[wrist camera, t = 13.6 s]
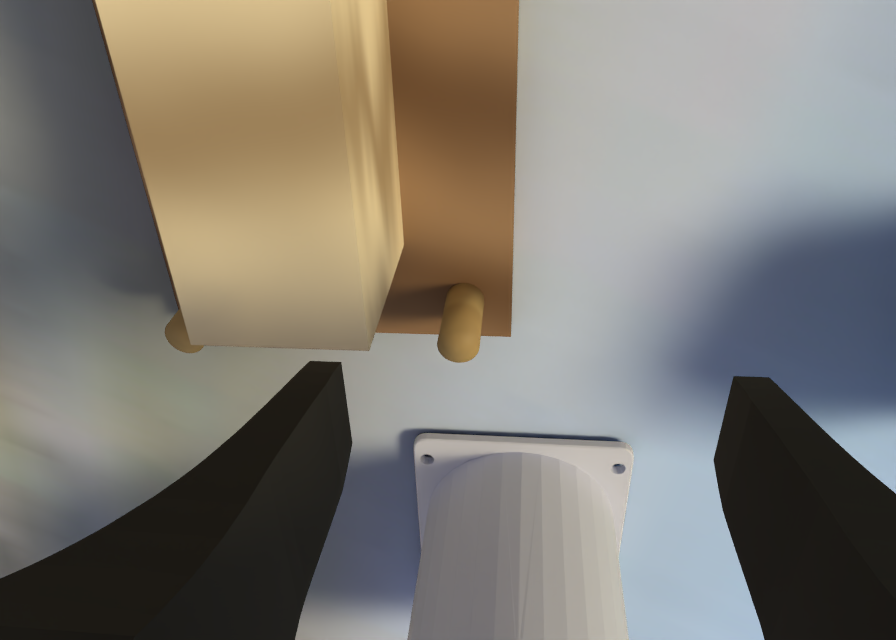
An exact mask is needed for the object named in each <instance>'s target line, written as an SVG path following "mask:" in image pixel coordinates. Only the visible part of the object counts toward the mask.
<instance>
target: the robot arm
mask: <svg viewBox="0 0 896 640" xmlns="http://www.w3.org/2000/svg"><path fill="white" fill-rule="evenodd" d="M351 447H352V437H351V430H350V423H349V415H348V408H347V401H346V394H345V386H344V379H343V372H342V365H341V362H321V361H310V362H309V363H307V364H306V365H305V366H304V367H303V368H302V369H301V370H300V371H299V372H298V373H297V374H296V375H295V376H294V377H293V378H292V379H291V380H290V381H289V382H288V383H287V384H286V385H285V386H284V387H283V388H282V389H281V390H280V391H279V392H278V393H277V394H276V395H275V396H274V397H273V398H272V399H271V400H270V401H269V402H268V403H267V404H266V405H265V406H264V407H263V408H262V409H261V410H260V411H258V412H257V413H256V414H255V415H254V416H253V417H252V418H251V419H250V420H249V421H248V422H247V423H246V424H245V425H244V426H243V427H242V428H241V429H239V430H238V431H237V432H236V433H235V434H234V435H233V436H232V437H230V438H229V439H228V440H227V441H226V442H225V443H223V444H222V445H221V446H220V447H219V448H218V449H216V450H215V451H214V452H213V453H212V454H211V455H209V456H208V457H207V458H206V459H205V460H203V461H202V462H201V463H200V464H198V465H197V466H196V467H194V468H193V469H192V470H191V471H189V472H188V473H187V474H185V475H184V476H182V477H181V478H180V479H178V480H177V481H175V482H174V483H173V484H171V485H170V486H168V487H167V488H166V489H164V490H163V491H161V492H160V493H158V494H157V495H155V496H154V497H153V498H151V499H149V500H148V501H146V502H144V503H143V504H141V505H140V506H138V507H136V508H135V509H133V510H132V511H130V512H128V513H127V514H125V515H124V516H122V517H120V518H119V519H117V520H115V521H114V522H112V523H111V524H109V525H107V526H106V527H104V528H102V529H100V530H98V531H97V532H95V533H93V534H91V535H89V536H88V537H86V538H84V539H82V540H80V541H78V542H77V543H75V544H73V545H71V546H69V547H67V548H65V549H63V550H61V551H59V552H57V553H55V554H53V555H51V556H49V557H47V558H45V559H43V560H41V561H39V562H37V563H35V564H32V565H30V566H28V567H26V568H23V569H21V570H19V571H17V572H14V573H12V574H10V575H8V576H5V577H3V578H1V579H0V640H295V636H296V632H297V628H298V623H299V619H300V615H301V612H302V608H303V605H304V602H305V598H306V595H307V592H308V589H309V586H310V583H311V580H312V577H313V574H314V572H315V569H316V566H317V563H318V560H319V557H320V554H321V552H322V549H323V546H324V543H325V540H326V537H327V534H328V531H329V529H330V526H331V523H332V520H333V517H334V514H335V511H336V508H337V505H338V502H339V499H340V496H341V493H342V490H343V486H344V481H345V477H346V472H347V467H348V462H349V457H350V452H351ZM413 450H414V464H415V477H416V490H417V503H418V517H419V530H420V543H421V557H420V563H419V570H418V576H417V582H416V589H415V595H414V601H413V608H412V614H411V620H410V626H409V633H408V639H407V640H629V637H628V629H627V621H626V613H625V605H624V597H623V589H622V581H621V573H620V565H619V550H620V544H621V538H622V531H623V525H624V518H625V512H626V505H627V499H628V493H629V486H630V480H631V473H632V467H633V460H634V456H633V450H632V448H631V446H630V445H628V444H627V443H624V442H615V441H592V440H570V439H548V438H526V437H504V436H482V435H460V434H437V433H423V434H420V435H418V436H417V437H416V438H415V442H414V447H413ZM425 454H428V455H431V456H432V457H426V456H424V455H425ZM614 464H623V465H621V466H613V465H614ZM714 465H715V471H716V477H717V482H718V488H719V493H720V498H721V503H722V508H723V512H724V515H725V519H726V522H727V525H728V528H729V531H730V534H731V537H732V540H733V543H734V546H735V550H736V553H737V556H738V559H739V562H740V565H741V568H742V571H743V574H744V576H745V579H746V582H747V585H748V588H749V591H750V594H751V597H752V601H753V604H754V606H755V610H756V613H757V616H758V619H759V622H760V625H761V628H762V632H763V635H764V639H765V640H896V494H895V493H894V492H893V491H892V490H891V489H889V488H888V487H887V486H886V485H885V484H883V483H882V482H881V481H880V480H879V479H877V478H876V477H875V476H874V475H873V474H871V473H870V472H869V471H868V470H867V469H866V468H864V467H863V466H862V465H861V464H860V463H859V462H858V461H856V460H855V459H854V458H853V457H852V456H851V455H850V454H849V453H848V452H846V451H845V450H844V449H843V448H842V447H841V446H840V445H839V444H838V443H837V442H836V441H835V440H833V439H832V438H831V437H830V436H829V435H828V434H827V433H826V432H825V431H824V430H823V429H822V428H821V427H820V426H819V425H818V424H817V423H816V422H815V421H814V420H813V419H811V418H810V417H809V416H808V415H807V414H806V413H805V412H804V411H803V410H802V409H801V408H800V407H799V406H798V405H797V404H796V403H795V402H794V401H793V400H792V399H791V398H790V397H789V396H788V395H787V394H786V393H785V392H784V391H783V390H782V389H781V388H780V387H779V386H778V385H777V384H776V383H774V382H773V381H772V380H771V379H770V378H769V377H741V376H734V377H733V381H732V385H731V389H730V394H729V398H728V402H727V406H726V410H725V414H724V419H723V423H722V427H721V431H720V435H719V440H718V444H717V448H716V452H715V456H714Z"/></svg>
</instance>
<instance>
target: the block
mask: <svg viewBox="0 0 896 640" xmlns="http://www.w3.org/2000/svg"><path fill="white" fill-rule="evenodd" d="M95 2H96V5H97V9H98V12H99V16H100V20H101V23H102V27H103V30H104V34H105V38H106V41H107V45H108V48H109V52H110V56H111V59H112V63H113V66H114V70H115V74H116V77H117V81H118V84H119V88H120V92H121V95H122V99H123V102H124V106H125V110H126V113H127V117H128V120H129V124H130V128H131V131H132V135H133V138H134V142H135V145H136V149H137V153H138V156H139V160H140V163H141V167H142V171H143V174H144V178H145V181H146V185H147V189H148V192H149V196H150V199H151V203H152V207H153V210H154V214H155V217H156V221H157V225H158V228H159V232H160V235H161V239H162V243H163V246H164V250H165V253H166V257H167V261H168V264H169V268H170V271H171V275H172V279H173V282H174V286H175V289H176V293H177V297H178V300H179V304H180V307H181V311H182V315H183V318H184V322H185V325H186V329H187V333H188V336H189V340H190V343H191V345H208V346H238V347H268V348H299V349H329V350H359V351H369V350H370V347H371V344H372V341H373V338H374V335H375V331H376V328H377V325H378V322H379V319H380V316H381V313H382V310H383V307H384V304H385V301H386V298H387V295H388V292H389V289H390V286H391V283H392V280H393V277H394V274H395V271H396V268H397V265H398V262H399V259H400V255H401V252H402V249H403V246H404V238H403V224H402V210H401V196H400V182H399V168H398V154H397V140H396V126H395V112H394V98H393V84H392V70H391V56H390V42H389V28H388V14H387V0H95Z"/></svg>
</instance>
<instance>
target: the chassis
mask: <svg viewBox="0 0 896 640" xmlns="http://www.w3.org/2000/svg"><path fill="white" fill-rule="evenodd" d="M92 1H93V5H94V9H95V12H96V16H97V19H98V23H99V27H100V30H101V34H102V37H103V41H104V44H105V48H106V52H107V55H108V59H109V62H110V66H111V70H112V73H113V77H114V80H115V84H116V87H117V91H118V95H119V98H120V102H121V105H122V109H123V113H124V116H125V120H126V123H127V127H128V130H129V134H130V138H131V141H132V145H133V148H134V152H135V155H136V159H137V163H138V166H139V170H140V173H141V177H142V181H143V184H144V188H145V191H146V195H147V198H148V202H149V206H150V209H151V213H152V216H153V220H154V224H155V227H156V231H157V234H158V238H159V241H160V245H161V249H162V252H163V256H164V259H165V263H166V267H167V270H168V274H169V277H170V281H171V284H172V288H173V292H174V295H175V299H176V302H177V306H178V309H179V310H178V311H177V313H176V314H175V315H174V317H173V318H172V319H171V320H170V322H169V323H168V324H167V326H166V328H165V336H166V338H167V340H168V342H169V343H170V344H171V345H172V346H173V347H174V348H176V349H177V350H179V351H182V352H185V353H195V352H198V351H200V350H201V349H202V348H203V347H204V345H191V343H190V340H189V336H188V333H187V329H186V325H185V322H184V318H183V315H182V311H181V307H180V304H179V300H178V297H177V293H176V289H175V286H174V282H173V279H172V275H171V271H170V268H169V264H168V261H167V257H166V253H165V250H164V246H163V243H162V239H161V235H160V232H159V228H158V225H157V221H156V217H155V214H154V210H153V207H152V203H151V199H150V196H149V192H148V189H147V185H146V181H145V178H144V174H143V171H142V167H141V163H140V160H139V156H138V153H137V149H136V145H135V142H134V138H133V135H132V131H131V128H130V124H129V120H128V117H127V113H126V110H125V106H124V102H123V99H122V95H121V92H120V88H119V84H118V81H117V77H116V74H115V70H114V66H113V63H112V59H111V56H110V52H109V48H108V45H107V41H106V38H105V34H104V30H103V27H102V23H101V20H100V16H99V12H98V9H97V5H96V2H95V0H92ZM387 14H388V28H389V42H390V56H391V70H392V84H393V98H394V112H395V126H396V140H397V154H398V168H399V182H400V196H401V210H402V224H403V238H404V246H403V249H402V252H401V255H400V259H399V262H398V265H397V268H396V271H395V274H394V277H393V280H392V283H391V286H390V289H389V292H388V295H387V298H386V301H385V304H384V307H383V310H382V313H381V316H380V319H379V322H378V325H377V328H376V331H375V332H377V333H409V334H439V337H438V342H437V347H438V350H439V352H440V353H441V355H442V356H443V357H445V358H446V359H448V360H450V361H453V362H467V361H469V360H471V359H473V358H474V357H475V356H476V355H477V353H478V351H479V346H480V336H505V337H511V316H512V273H513V230H514V187H515V144H516V102H517V59H518V16H519V0H387Z"/></svg>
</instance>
